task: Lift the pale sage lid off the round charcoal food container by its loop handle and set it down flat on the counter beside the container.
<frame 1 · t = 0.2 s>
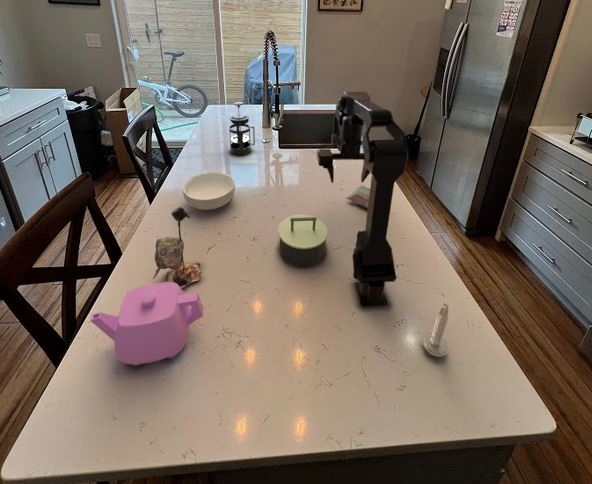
hand: (347, 182, 99), 14 cm above the kitchen island, tool pointing down, fingers open, 9 cm apart
container: (302, 249, 93), on the kitchen island
cereal bowl: (210, 202, 112), on the kitchen island
lid: (302, 231, 90), point 6 cm above the kitchen island, touching container
screw: (432, 350, 68), on the kitchen island
french press: (241, 151, 148), on the kitchen island
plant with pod: (179, 278, 83), on the kitchen island
packaged food: (365, 204, 113), on the kitchen island
teapot: (155, 341, 68), on the kitchen island
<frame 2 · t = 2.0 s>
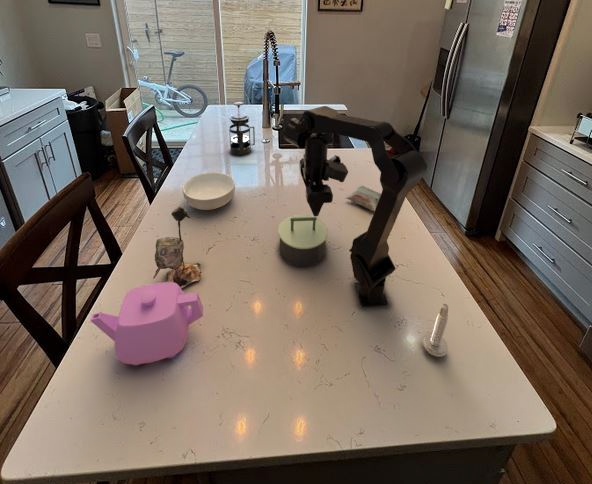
hand: (313, 205, 90), 13 cm above the kitchen island, tool pointing down, fingers open, 9 cm apart
nothing on the kitchen island moved.
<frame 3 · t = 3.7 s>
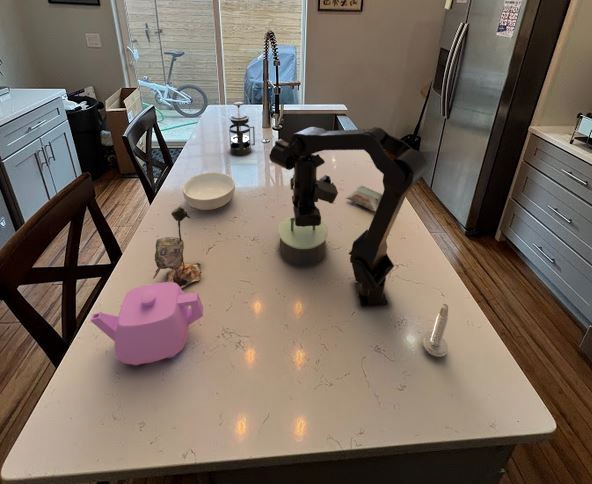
hand: (303, 225, 90), 9 cm above the kitchen island, tool pointing down, fingers closed on lid
lid: (302, 231, 90), point 6 cm above the kitchen island, touching container, gripper
everything else where it was.
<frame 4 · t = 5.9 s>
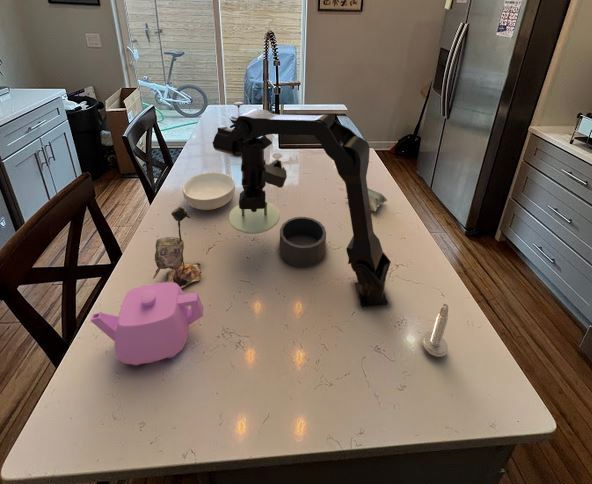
hand: (254, 210, 89), 13 cm above the kitchen island, tool pointing down, fingers closed on lid
lid: (254, 216, 89), point 11 cm above the kitchen island, touching gripper
everything else where it was.
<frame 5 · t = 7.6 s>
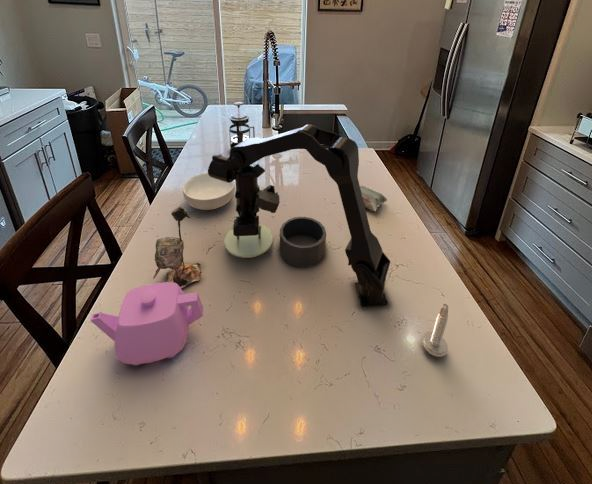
hand: (248, 233, 92), 5 cm above the kitchen island, tool pointing down, fingers closed on lid
lid: (249, 239, 92), point 3 cm above the kitchen island, touching gripper
everything else where it was.
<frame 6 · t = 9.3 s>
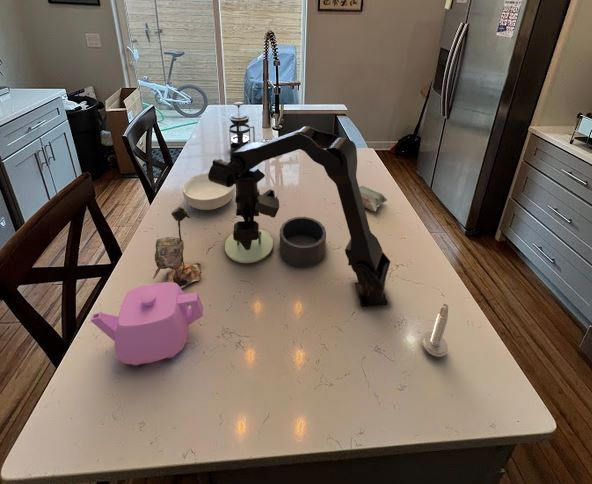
hand: (248, 237, 92), 3 cm above the kitchen island, tool pointing down, fingers open, 9 cm apart
lid: (249, 244, 93), point 1 cm above the kitchen island
everything else where it was.
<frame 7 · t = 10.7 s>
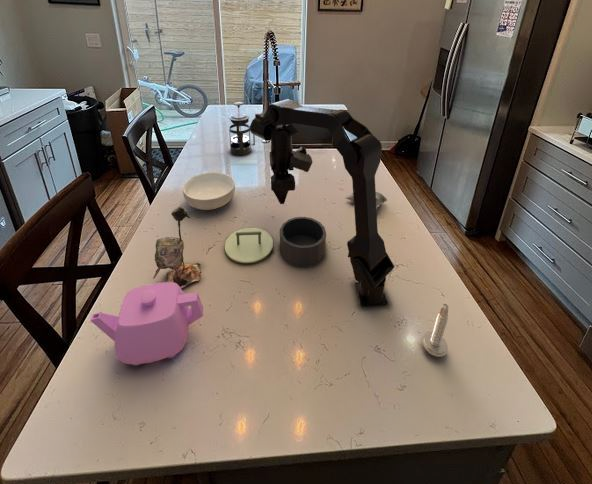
hand: (281, 194, 95), 13 cm above the kitchen island, tool pointing down, fingers open, 9 cm apart
nothing on the kitchen island moved.
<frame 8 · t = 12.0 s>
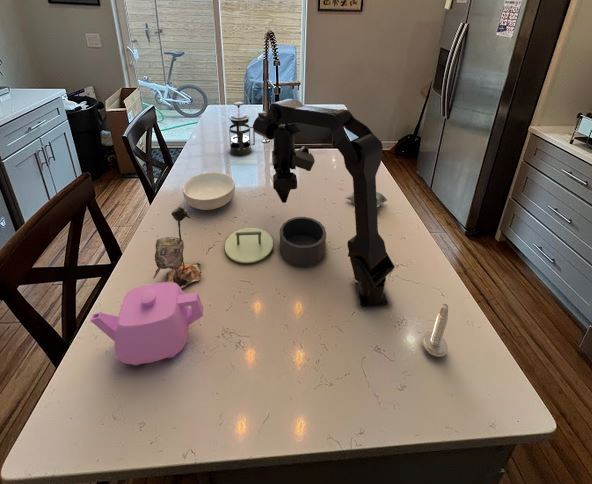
hand: (283, 193, 96), 13 cm above the kitchen island, tool pointing down, fingers open, 9 cm apart
nothing on the kitchen island moved.
at the end: lid inside the target area (0.0 cm from its centre), point 0.6 cm above the kitchen island; lid tilted 0°; the gripper is holding nothing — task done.
